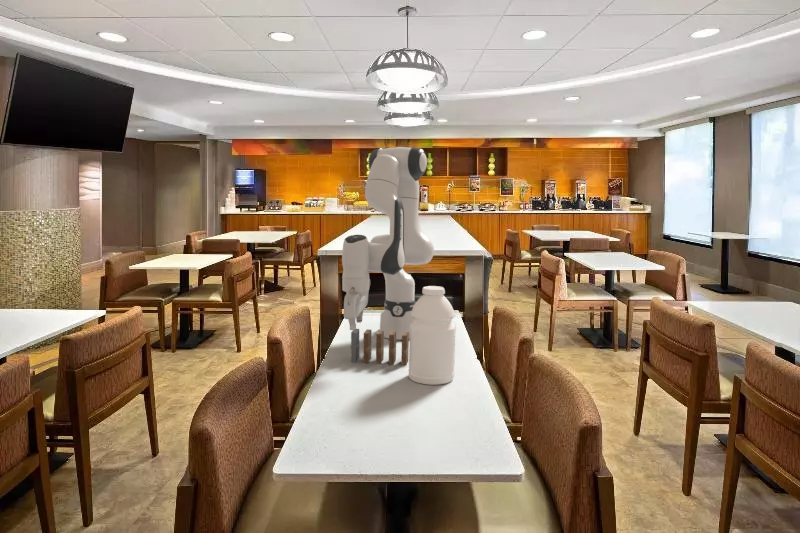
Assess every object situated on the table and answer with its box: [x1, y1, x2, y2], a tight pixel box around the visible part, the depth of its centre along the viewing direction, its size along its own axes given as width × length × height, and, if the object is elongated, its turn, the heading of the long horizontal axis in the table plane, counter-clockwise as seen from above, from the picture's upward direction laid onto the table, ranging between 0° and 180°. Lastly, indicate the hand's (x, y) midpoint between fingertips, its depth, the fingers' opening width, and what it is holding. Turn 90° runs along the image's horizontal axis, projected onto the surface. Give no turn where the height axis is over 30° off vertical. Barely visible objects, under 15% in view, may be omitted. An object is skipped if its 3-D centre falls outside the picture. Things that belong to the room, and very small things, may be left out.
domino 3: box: [388, 331, 397, 366], centre depth 193 cm, size 2×5×10 cm, turn 172°
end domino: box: [350, 328, 360, 363], centre depth 195 cm, size 2×5×10 cm, turn 171°
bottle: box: [408, 285, 457, 386], centre depth 177 cm, size 14×14×28 cm
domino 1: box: [362, 328, 372, 364], centre depth 194 cm, size 2×5×10 cm, turn 172°
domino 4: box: [400, 332, 410, 366], centre depth 192 cm, size 2×5×10 cm, turn 171°
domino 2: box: [375, 329, 385, 365], centre depth 193 cm, size 2×5×10 cm, turn 171°
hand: (356, 325), depth 194 cm, fingers open, 8 cm apart
